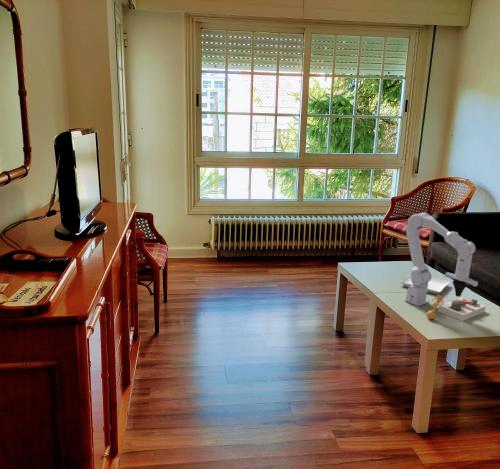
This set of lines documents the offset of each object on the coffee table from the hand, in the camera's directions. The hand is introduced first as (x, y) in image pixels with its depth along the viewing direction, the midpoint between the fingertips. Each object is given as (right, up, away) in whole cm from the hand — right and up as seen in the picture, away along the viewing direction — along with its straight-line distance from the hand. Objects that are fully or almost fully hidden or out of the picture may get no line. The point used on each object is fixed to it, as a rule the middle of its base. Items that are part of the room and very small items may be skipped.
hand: (458, 296), depth 209 cm
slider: (+11, -5, +7) cm, 14 cm away
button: (0, -6, +2) cm, 6 cm away
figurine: (-13, -10, -4) cm, 17 cm away
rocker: (+5, -3, +5) cm, 7 cm away
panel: (+4, -8, +6) cm, 11 cm away
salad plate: (-1, 0, +37) cm, 38 cm away
